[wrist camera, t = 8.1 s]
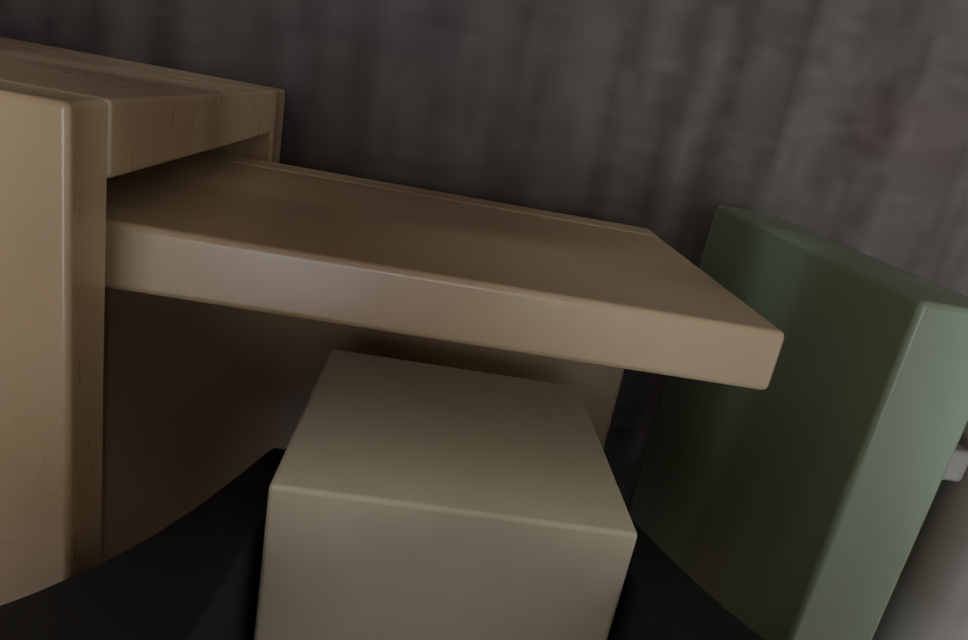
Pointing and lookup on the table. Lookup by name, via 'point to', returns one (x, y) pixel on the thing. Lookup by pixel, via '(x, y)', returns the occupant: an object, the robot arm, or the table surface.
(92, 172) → the cabinet
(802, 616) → the drawer
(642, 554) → the robot arm
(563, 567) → the block
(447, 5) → the table surface
